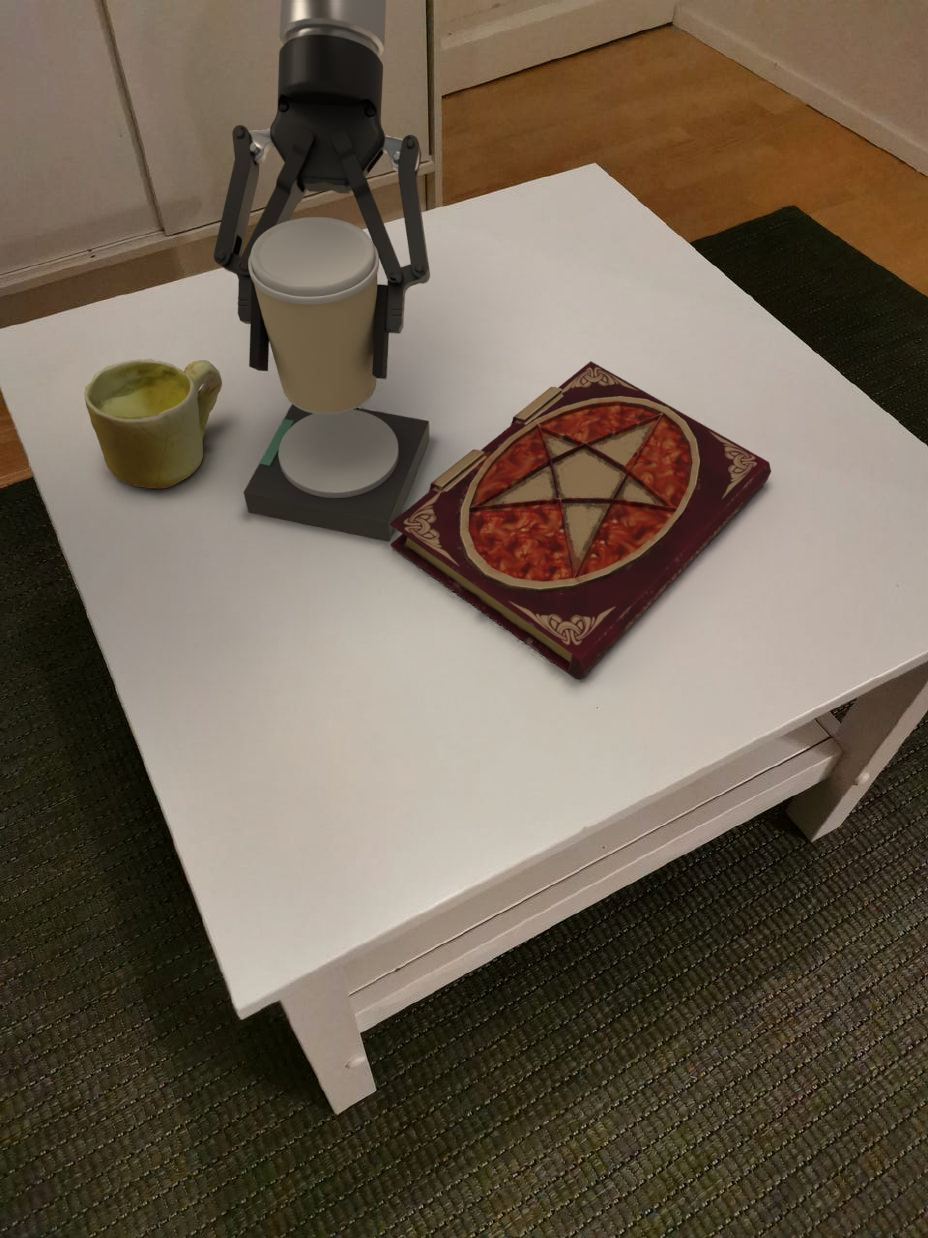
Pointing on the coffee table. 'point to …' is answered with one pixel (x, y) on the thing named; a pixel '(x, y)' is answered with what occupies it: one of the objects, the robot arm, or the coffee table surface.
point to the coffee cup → (319, 310)
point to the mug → (152, 418)
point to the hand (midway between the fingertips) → (319, 372)
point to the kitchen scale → (339, 470)
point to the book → (579, 514)
